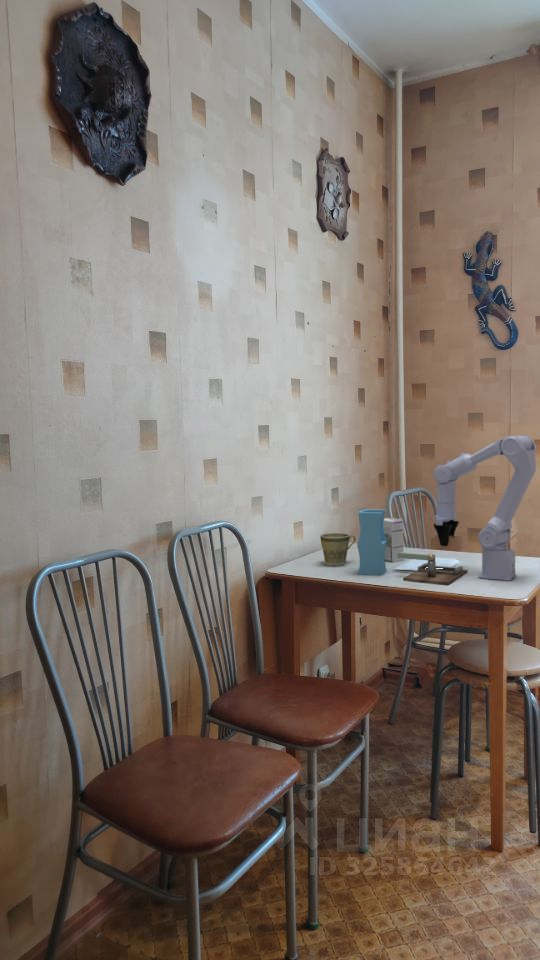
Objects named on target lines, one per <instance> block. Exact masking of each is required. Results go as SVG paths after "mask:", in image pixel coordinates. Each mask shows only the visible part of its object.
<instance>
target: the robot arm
mask: <svg viewBox="0 0 540 960" xmlns="http://www.w3.org/2000/svg"><path fill="white" fill-rule="evenodd" d="M536 451H537V446H536V444H535V442H534V440H533V438H532V437H530V435H527V434H520V435H508V436H506V437H504V438H500V439H499V440H496V441H494V442H493V443H490V444H489V445H487V446H486V447H484V448H482V449H480V450H478V451H477V452H475V453H473V454H470V453H460V454H458V457H457V458H455V459H453V460H447V461H446V462H445V463H446V464H439V465H438V466H436V467H435V469H434V470H433V472H432V473H433V474H432V476H433V480H434V481H436V515H433V518H434V519H435V520H434V521H435V522H434V523H433V527H434V529H435V531H436V533H437V534H436V535H438V537H439V541H440V545H441V546H448V541H449V536H455V532H456V530H457V527H458V526H459V523H460V522H459V521H458V520H457V518H458V517H457V513H456V483H457V480H458V479H459V478H461V477H463V476H466V475H467V474H470V473H471V472H473V471H475V470H476V469H477V466H478V465H479V464H480V463H482V462H485V461H487V460H489V459H492V458H494V457H496V456H505V458H506V459H507V460H508V461H509V462H510V463H511V465H512V466H513V469H514V472H513V474H512V476H511V478H510V480H509V483H508V485H507V487H506V489H505V490H504V493H503V495H502V498H501V500H500V502H499V504H498V506H497V508H496V509H495V512H494V514H493V517H492V518H490V520H489V521H488V522H487V523H486V524H485V526H484V528H482V529H481V530H480V531H479V532H478V537H477V539H478V542H479V544H480V546H481V558H482V559H481V564H482V565H481V567H482V569H481V571H482V572H481V573H480V574H479V575H478V576H477V578H479V579H490V580H499V581H500V580H501V581H511V580H512V579H513V578H515V577H516V575H517V574H516V553H515V550H514V549H510V548H508V546H507V543H508V542H509V541H510V539H511V531H512V528H513V525H512V520H513V519H514V517H515V514H516V513H517V511H518V508H519V507H520V504H521V502H522V500H523V498H524V495H525V494H526V492H527V489H528V488H529V485H530V483H531V481H532V479H533V477H534V474H535V473H536V470H537V467H536V465H537V464H536V463H537V462H536Z"/></svg>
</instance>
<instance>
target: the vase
mask: <svg viewBox="0 0 540 960" xmlns="http://www.w3.org/2000/svg"><path fill="white" fill-rule="evenodd" d="M386 512H387V509H376V508H375V509H371V508H370V509H369V508H368V509H367V508H364V509H360V510H359V511H358V512H357V514H358V519H359V525H360V526H359V527H360V529H359V530H360V531H359V537H358V540H357V547H356V548H357V550H358V555H359V566H358V567H359V568H358V572H357V575H359V576H361V575H363V576H379V577H380V576H384V575H385V573H386V572H387V567H386V561H385V550H386V545H387V540H386V537H385V534H384V528H383V523H384V519H385V516H386Z"/></svg>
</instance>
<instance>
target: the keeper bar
mask: <svg viewBox="0 0 540 960" xmlns="http://www.w3.org/2000/svg"><path fill="white" fill-rule="evenodd" d="M397 558H404V559H406V560H417V561H427V562H428V561H436V555H435V554H426V553H414V552H413V553H412V552H404V551H403V552H398V553H397Z"/></svg>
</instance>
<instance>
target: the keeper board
mask: <svg viewBox="0 0 540 960" xmlns="http://www.w3.org/2000/svg"><path fill="white" fill-rule="evenodd" d="M426 567H428V568H426ZM425 568H426V569H425ZM436 568H443V569H436ZM468 572H469V571H468V569H464V566H463V565H462V566H461V565H459V566H458V567H451V566H441V565H439V566H438V565H437V564H436V560H435V561H428V560H427V562H425V563H422V564H421V565H419V566H417V570H416V571H414V572H412V573H410V574H408V575H406V576H404V577H403V578H402V580H403V581H404V582H412V583H423V584H424V583H425V584H433V585H444V586H449V585H451V584H452V583H454V582H456V581H457V580H458V579H460V578H462V577H463V576H465V575H466V574H468Z"/></svg>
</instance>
